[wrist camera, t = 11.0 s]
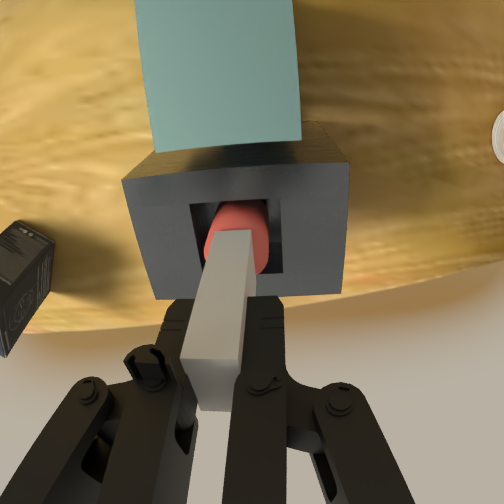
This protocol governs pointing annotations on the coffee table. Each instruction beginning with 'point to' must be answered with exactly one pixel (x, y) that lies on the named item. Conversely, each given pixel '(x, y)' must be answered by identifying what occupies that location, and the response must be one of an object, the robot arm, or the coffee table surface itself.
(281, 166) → the gray button box
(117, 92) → the coffee table surface
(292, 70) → the block
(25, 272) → the box
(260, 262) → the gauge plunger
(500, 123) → the candle
